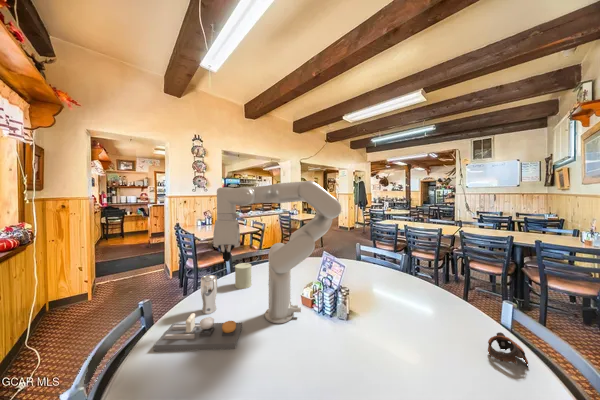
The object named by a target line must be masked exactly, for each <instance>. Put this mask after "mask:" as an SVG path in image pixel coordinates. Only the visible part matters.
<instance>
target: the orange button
mask: <svg viewBox="0 0 600 400" xmlns="http://www.w3.org/2000/svg"><path fill="white" fill-rule="evenodd" d="M222 323H223V325H222V331H223V332H224V333H230V332H233V331H234V330H235V329H236V323H237V322H236V321H234V320H228V321H225V322H222Z"/></svg>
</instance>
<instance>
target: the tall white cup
mask: <svg viewBox="0 0 600 400" xmlns="http://www.w3.org/2000/svg"><path fill="white" fill-rule="evenodd" d="M217 278H218V277H217V275H214V274H211V275H209V274H208V275H205V276H202V277H201V278H200V295H201V300H202V309H201V312H202V314H205V315H209V314H210V315H211V314H213V313H215V312H216V310H217V304H216V300H217V298H216V297H217V292H218V279H217Z"/></svg>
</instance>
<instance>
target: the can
mask: <svg viewBox="0 0 600 400" xmlns="http://www.w3.org/2000/svg"><path fill="white" fill-rule="evenodd" d="M234 274H235V275H234V277H235V283H234V284H235V285H234V288H236V289H239V290H240V289H241V290H246V289H249V288H251V286H252V285H253V284H252V264H251V263H248V262H241V263H238V264H235V265H234Z"/></svg>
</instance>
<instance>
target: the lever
mask: <svg viewBox="0 0 600 400" xmlns="http://www.w3.org/2000/svg"><path fill="white" fill-rule="evenodd" d="M195 323H196V313H194V312H192V313H190V315H189V316H188V317H187V319H186V320H185V324H186V332H185V334H194V333H195V331H196V330H197V328H194V327H195Z"/></svg>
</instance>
